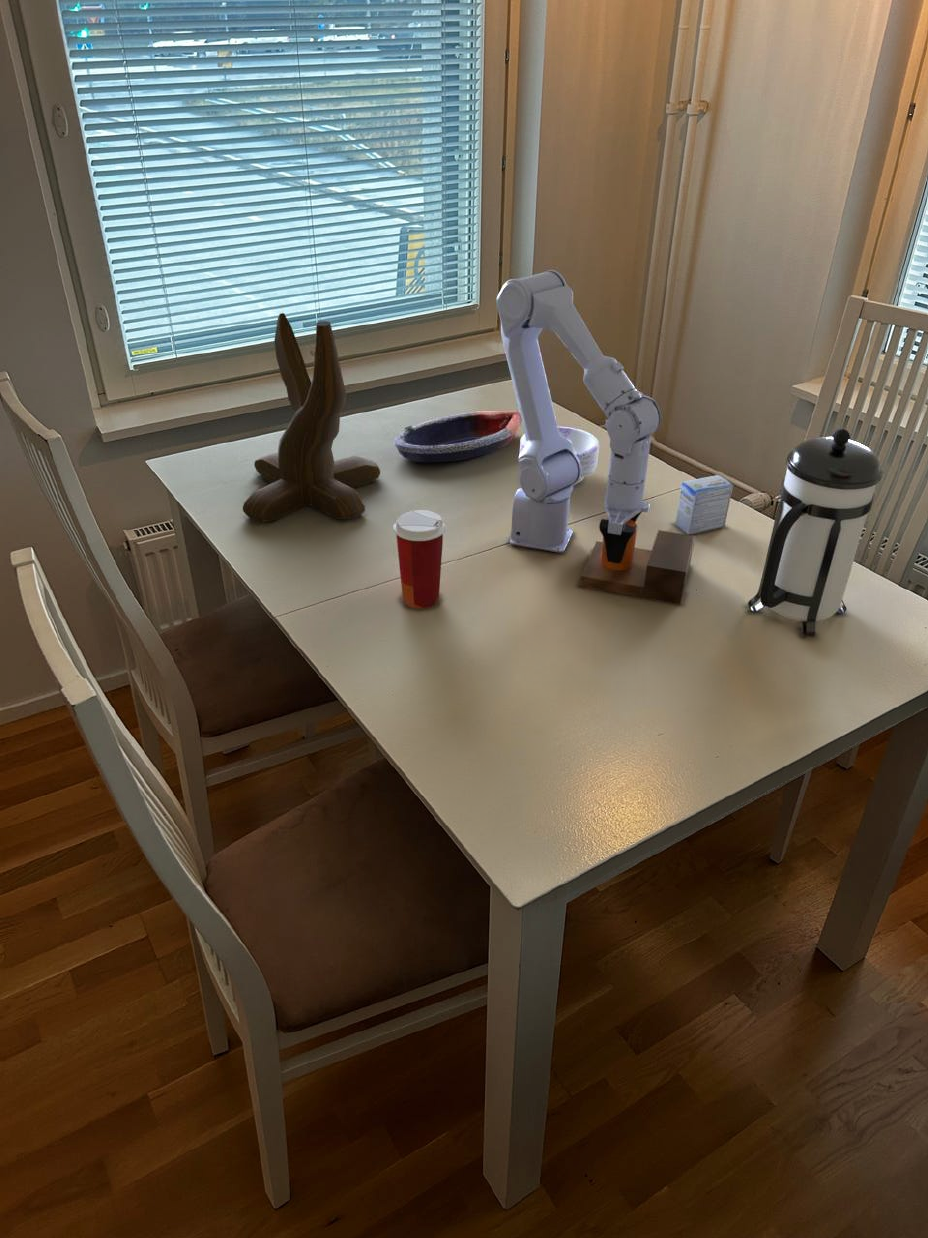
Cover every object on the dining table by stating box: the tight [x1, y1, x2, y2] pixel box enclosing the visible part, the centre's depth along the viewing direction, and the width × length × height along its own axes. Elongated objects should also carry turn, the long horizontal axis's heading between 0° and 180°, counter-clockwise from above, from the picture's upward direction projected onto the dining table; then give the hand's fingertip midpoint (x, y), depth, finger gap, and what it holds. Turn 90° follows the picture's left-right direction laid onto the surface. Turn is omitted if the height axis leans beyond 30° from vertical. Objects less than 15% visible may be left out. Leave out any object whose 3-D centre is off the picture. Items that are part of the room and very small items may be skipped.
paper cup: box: [392, 509, 446, 610], centre depth 140 cm, size 8×8×14 cm
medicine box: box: [674, 474, 734, 535], centre depth 162 cm, size 8×4×9 cm, turn 113°
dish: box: [394, 410, 522, 463], centre depth 190 cm, size 16×31×5 cm, turn 121°
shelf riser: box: [579, 529, 696, 605], centre depth 149 cm, size 16×12×6 cm
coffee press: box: [747, 428, 884, 638], centre depth 133 cm, size 17×16×30 cm
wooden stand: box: [242, 312, 381, 523], centre depth 164 cm, size 29×29×35 cm
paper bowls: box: [519, 426, 600, 486], centre depth 178 cm, size 15×15×8 cm
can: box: [600, 518, 638, 571], centre depth 148 cm, size 5×5×7 cm
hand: (617, 552), depth 149 cm, fingers closed on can, 5 cm apart
